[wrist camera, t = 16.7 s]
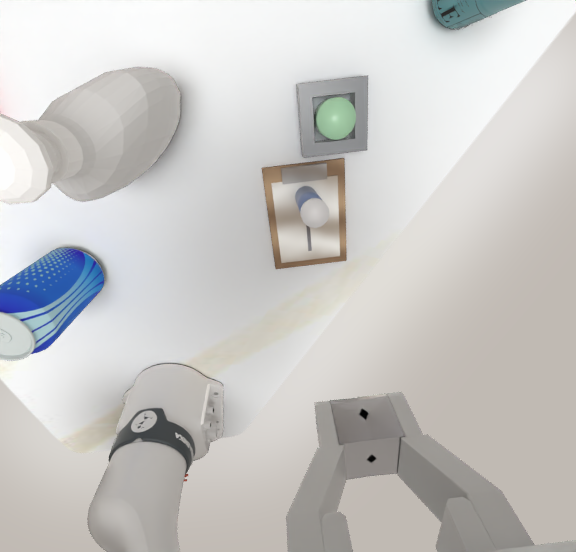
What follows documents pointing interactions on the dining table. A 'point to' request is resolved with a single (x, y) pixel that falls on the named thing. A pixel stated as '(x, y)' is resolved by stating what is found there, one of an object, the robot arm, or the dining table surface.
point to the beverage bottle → (467, 10)
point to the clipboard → (287, 219)
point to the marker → (311, 207)
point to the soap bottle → (90, 137)
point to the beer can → (45, 300)
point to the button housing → (306, 120)
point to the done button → (335, 118)
